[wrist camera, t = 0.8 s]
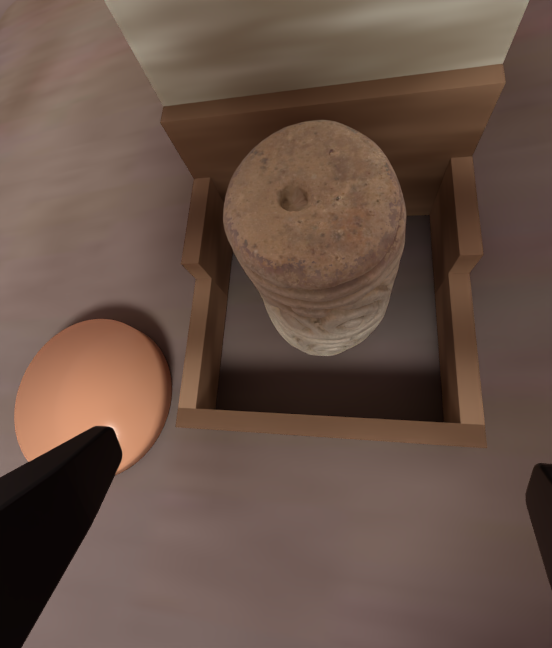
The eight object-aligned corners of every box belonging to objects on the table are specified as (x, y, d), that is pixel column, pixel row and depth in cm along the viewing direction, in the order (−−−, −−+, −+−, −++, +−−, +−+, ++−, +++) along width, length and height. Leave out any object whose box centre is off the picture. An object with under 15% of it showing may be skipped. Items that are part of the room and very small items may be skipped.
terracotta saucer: (114, 513, 21) (97, 519, 20) (7, 429, 24) (-15, 429, 23) (200, 364, 23) (190, 359, 21) (90, 303, 26) (75, 295, 24)
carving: (317, 389, 21) (282, 338, 10) (252, 294, 24) (166, 166, 12) (406, 329, 21) (475, 208, 10) (331, 241, 24) (318, 64, 12)
